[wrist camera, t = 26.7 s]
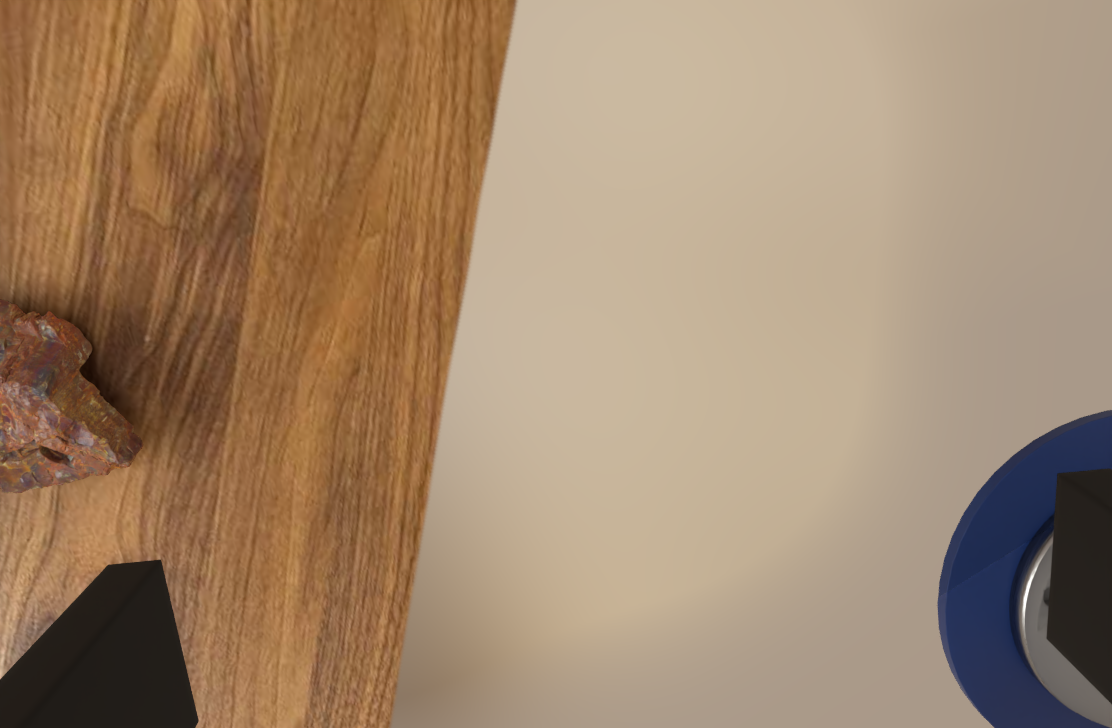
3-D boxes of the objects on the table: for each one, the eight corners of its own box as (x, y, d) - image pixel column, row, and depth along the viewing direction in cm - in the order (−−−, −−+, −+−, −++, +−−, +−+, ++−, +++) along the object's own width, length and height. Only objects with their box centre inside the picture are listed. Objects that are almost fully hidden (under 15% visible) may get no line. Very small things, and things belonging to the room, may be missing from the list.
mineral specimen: (139, 294, 44) (89, 387, 39) (173, 404, 50) (132, 498, 44) (-109, 286, 44) (-193, 379, 39) (-49, 398, 49) (-116, 492, 44)
